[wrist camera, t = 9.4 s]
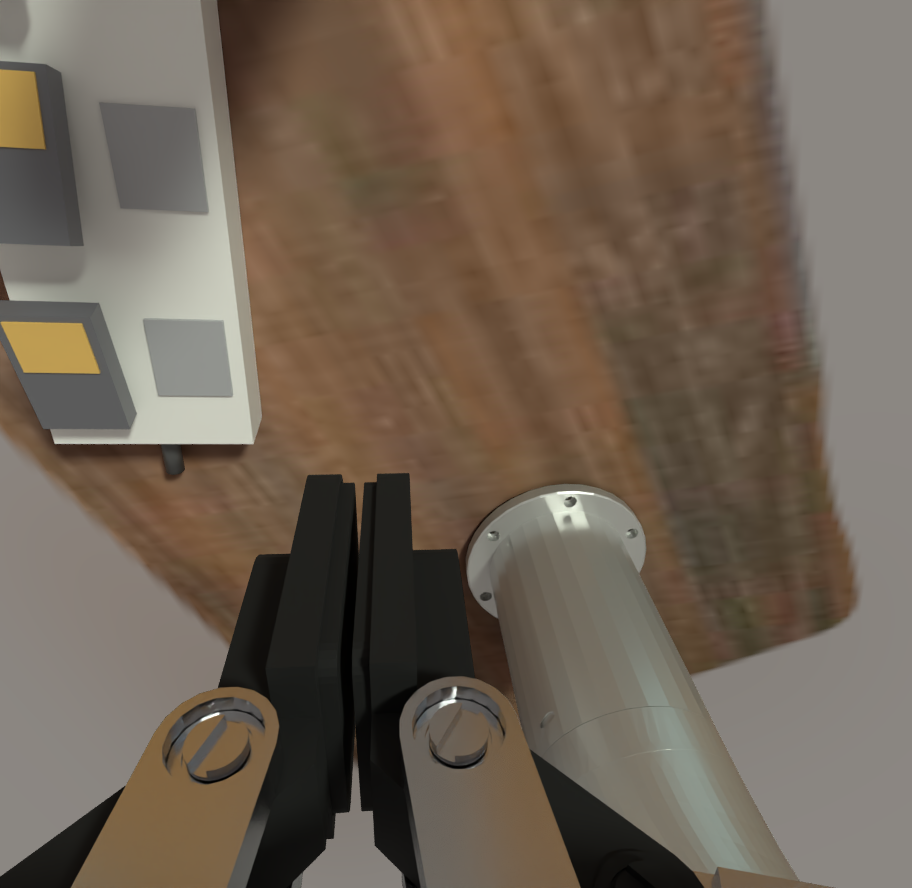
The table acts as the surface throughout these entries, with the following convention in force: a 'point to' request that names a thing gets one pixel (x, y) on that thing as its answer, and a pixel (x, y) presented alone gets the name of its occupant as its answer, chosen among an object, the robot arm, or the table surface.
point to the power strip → (148, 212)
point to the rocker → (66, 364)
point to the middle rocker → (36, 159)
